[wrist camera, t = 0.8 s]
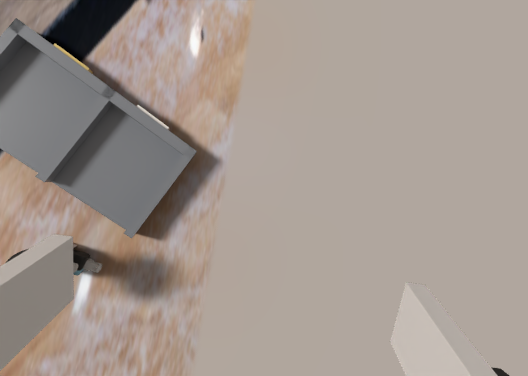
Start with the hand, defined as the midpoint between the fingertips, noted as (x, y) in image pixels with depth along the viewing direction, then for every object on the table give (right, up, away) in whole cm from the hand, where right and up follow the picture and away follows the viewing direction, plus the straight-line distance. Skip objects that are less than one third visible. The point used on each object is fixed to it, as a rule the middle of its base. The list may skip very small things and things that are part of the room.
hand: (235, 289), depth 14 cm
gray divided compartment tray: (-19, +10, +26) cm, 34 cm away
